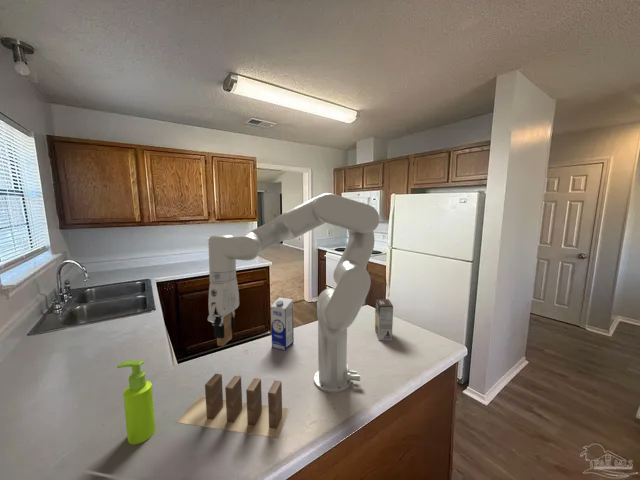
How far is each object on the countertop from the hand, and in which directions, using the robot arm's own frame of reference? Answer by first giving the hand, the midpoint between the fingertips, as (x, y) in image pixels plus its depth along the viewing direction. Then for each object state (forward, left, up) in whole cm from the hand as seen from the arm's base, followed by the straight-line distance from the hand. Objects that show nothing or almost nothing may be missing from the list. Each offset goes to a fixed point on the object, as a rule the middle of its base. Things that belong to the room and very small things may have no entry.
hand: (224, 332), depth 81 cm
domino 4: (-13, +9, -19) cm, 25 cm away
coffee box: (-51, -47, -20) cm, 73 cm away
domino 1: (-1, +9, -19) cm, 21 cm away
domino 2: (0, 0, -3) cm, 3 cm away
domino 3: (-7, +9, -19) cm, 23 cm away
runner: (-7, +9, -20) cm, 23 cm away
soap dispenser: (+14, +19, -20) cm, 31 cm away
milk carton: (-8, -31, -20) cm, 38 cm away
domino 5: (-19, +9, -19) cm, 29 cm away
